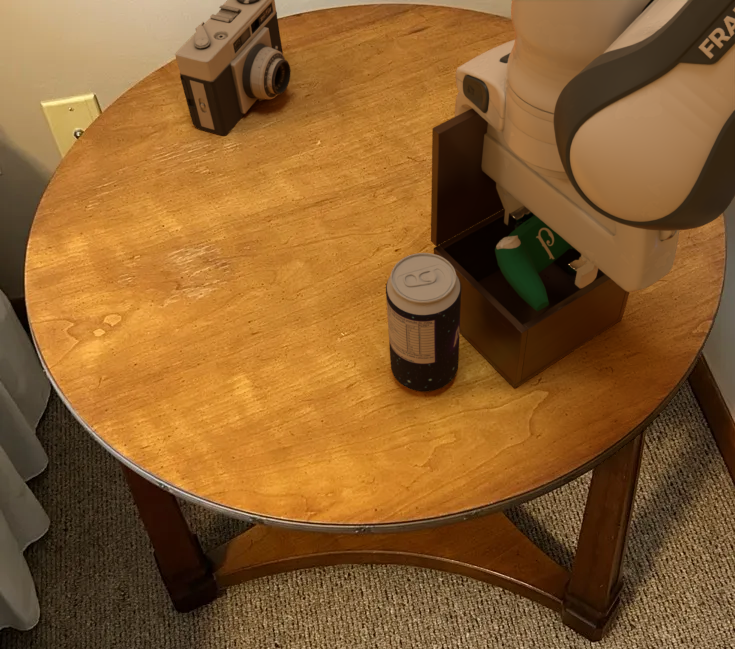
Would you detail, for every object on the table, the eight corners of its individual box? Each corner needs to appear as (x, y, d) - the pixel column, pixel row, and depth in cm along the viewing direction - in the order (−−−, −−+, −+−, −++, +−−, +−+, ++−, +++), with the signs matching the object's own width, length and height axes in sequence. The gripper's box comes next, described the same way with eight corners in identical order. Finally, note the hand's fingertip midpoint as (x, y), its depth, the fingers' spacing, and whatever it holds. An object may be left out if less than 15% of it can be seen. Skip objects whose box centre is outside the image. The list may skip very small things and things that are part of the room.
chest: (622, 319, 76) (638, 260, 70) (514, 388, 72) (521, 333, 66) (536, 245, 82) (544, 185, 76) (433, 305, 78) (433, 247, 72)
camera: (254, 146, 93) (238, 67, 86) (190, 128, 96) (169, 49, 88) (315, 72, 101) (305, -7, 93) (254, 57, 103) (239, -21, 96)
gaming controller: (588, 257, 73) (553, 196, 72) (619, 250, 70) (582, 186, 69) (515, 317, 69) (476, 254, 68) (543, 313, 66) (503, 246, 65)
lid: (567, 68, 66) (560, 63, 66) (438, 133, 62) (432, 127, 62) (548, 184, 75) (542, 179, 76) (436, 246, 72) (430, 241, 72)
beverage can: (464, 391, 72) (469, 299, 63) (397, 403, 72) (392, 311, 62) (449, 338, 76) (452, 243, 66) (385, 349, 75) (379, 255, 66)
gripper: (723, 173, 54) (674, 314, 64) (508, 26, 65) (497, 168, 75) (649, 218, 52) (612, 355, 62) (440, 58, 63) (439, 199, 74)
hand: (548, 251), depth 69 cm, fingers closed on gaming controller, 6 cm apart
